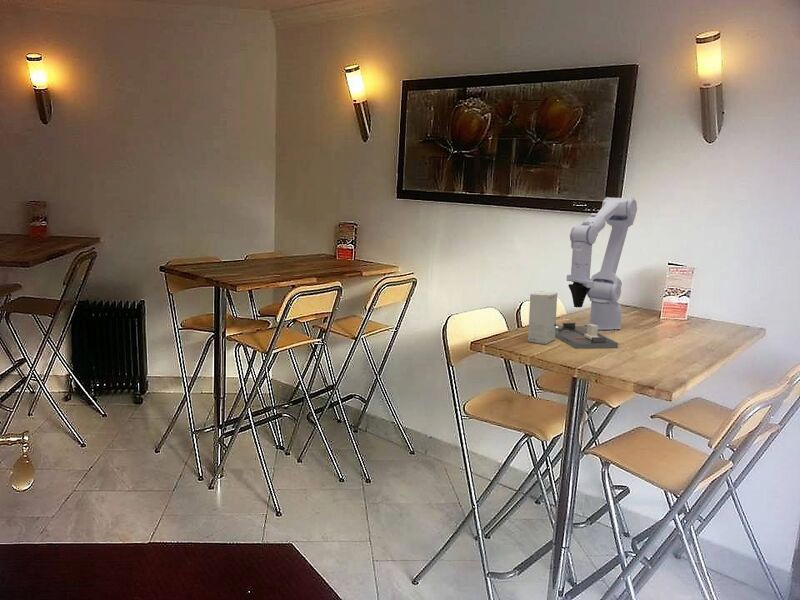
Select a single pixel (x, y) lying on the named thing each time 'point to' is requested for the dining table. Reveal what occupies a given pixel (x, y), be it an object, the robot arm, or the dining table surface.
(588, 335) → the block
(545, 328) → the skincare box
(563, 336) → the console
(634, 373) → the dining table surface
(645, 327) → the dining table surface
